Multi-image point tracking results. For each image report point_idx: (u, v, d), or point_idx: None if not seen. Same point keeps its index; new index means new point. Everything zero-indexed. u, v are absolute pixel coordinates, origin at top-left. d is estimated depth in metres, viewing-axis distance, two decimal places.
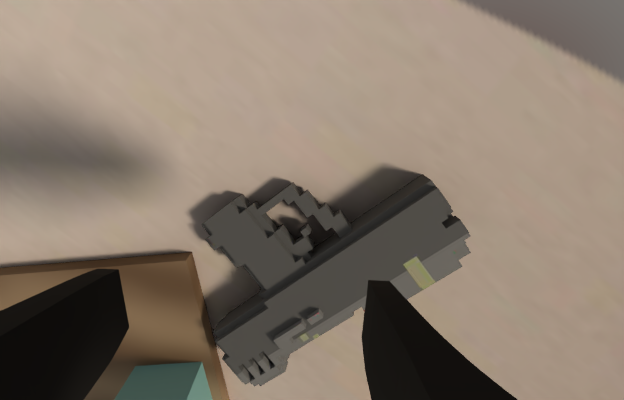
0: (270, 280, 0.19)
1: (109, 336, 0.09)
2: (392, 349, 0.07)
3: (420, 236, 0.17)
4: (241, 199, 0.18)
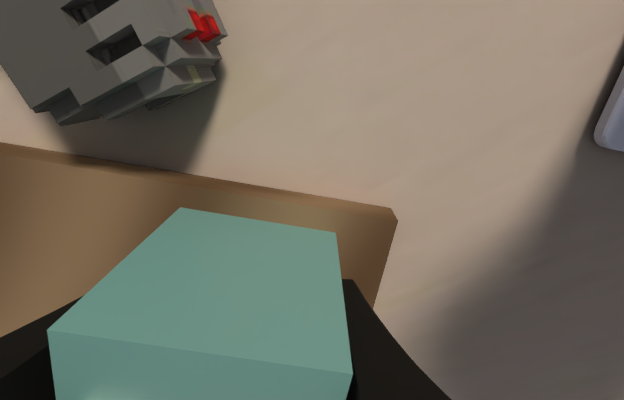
0: None
1: None
2: None
3: None
4: None
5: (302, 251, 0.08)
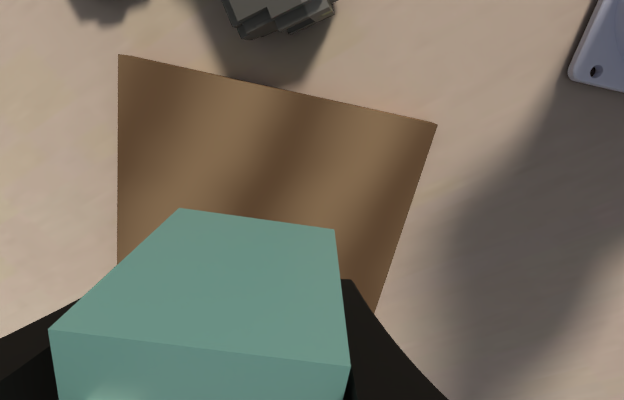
0: None
1: None
2: None
3: None
4: None
5: (300, 248, 0.08)
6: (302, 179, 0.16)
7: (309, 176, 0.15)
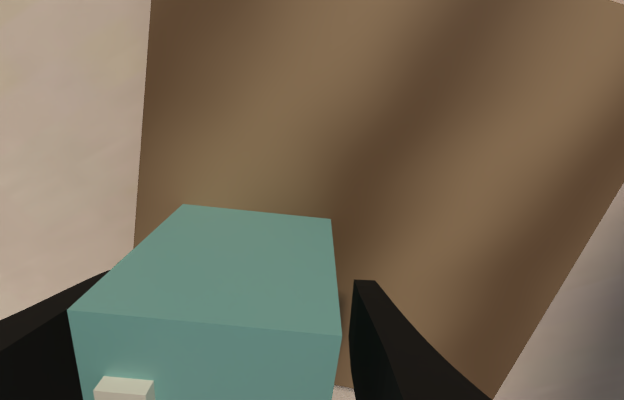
0: None
1: None
2: (373, 348, 0.07)
3: None
4: None
5: (298, 236, 0.09)
6: (457, 125, 0.09)
7: (471, 119, 0.09)
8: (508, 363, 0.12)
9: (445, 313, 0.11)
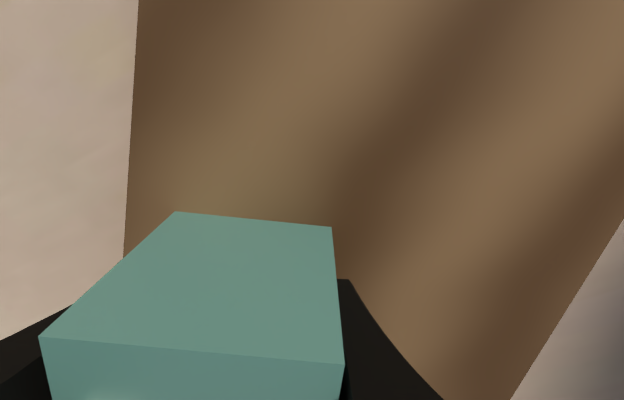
0: None
1: None
2: None
3: None
4: None
5: (296, 247, 0.08)
6: (467, 128, 0.09)
7: (481, 122, 0.09)
8: (517, 377, 0.12)
9: (451, 326, 0.11)
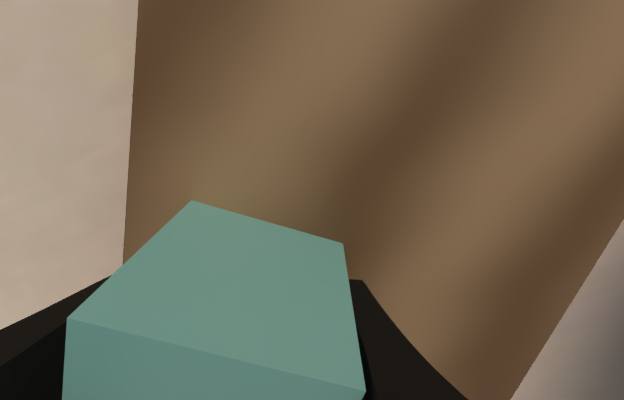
0: None
1: None
2: None
3: None
4: None
5: None
6: (466, 128, 0.09)
7: (481, 122, 0.09)
8: (517, 377, 0.12)
9: (451, 326, 0.11)
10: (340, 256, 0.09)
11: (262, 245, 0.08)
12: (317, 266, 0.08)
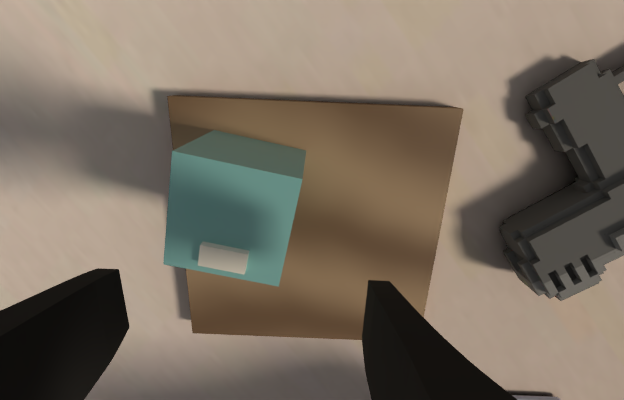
0: (614, 166, 0.15)
1: (109, 336, 0.09)
2: (392, 349, 0.07)
3: None
4: (593, 63, 0.15)
5: None
6: (366, 264, 0.19)
7: (370, 269, 0.19)
8: (235, 332, 0.20)
9: (258, 291, 0.19)
10: (302, 153, 0.15)
11: (256, 146, 0.15)
12: (287, 154, 0.15)
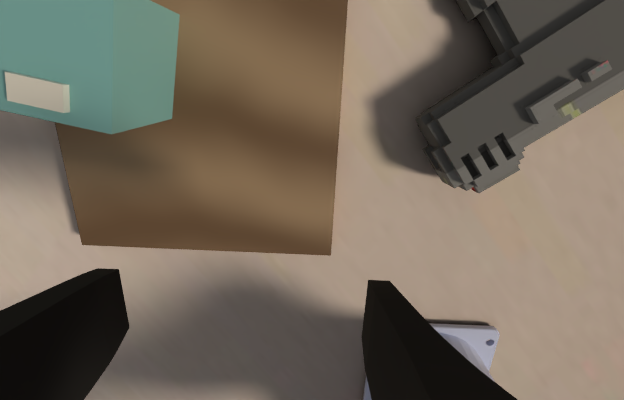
0: (528, 27, 0.14)
1: (109, 336, 0.09)
2: (392, 349, 0.07)
3: None
4: None
5: None
6: (262, 159, 0.17)
7: (267, 164, 0.17)
8: (128, 243, 0.18)
9: (148, 192, 0.17)
10: (167, 9, 0.14)
11: None
12: None
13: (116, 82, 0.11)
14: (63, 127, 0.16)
